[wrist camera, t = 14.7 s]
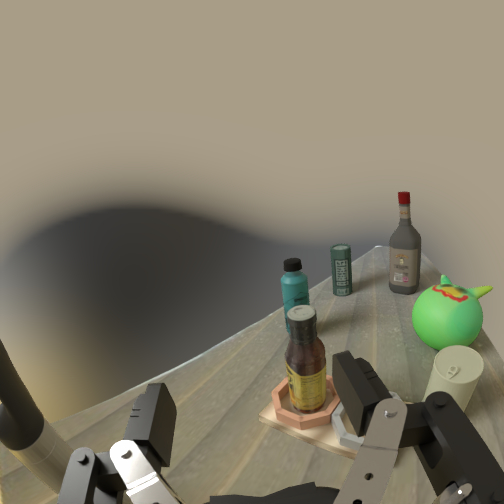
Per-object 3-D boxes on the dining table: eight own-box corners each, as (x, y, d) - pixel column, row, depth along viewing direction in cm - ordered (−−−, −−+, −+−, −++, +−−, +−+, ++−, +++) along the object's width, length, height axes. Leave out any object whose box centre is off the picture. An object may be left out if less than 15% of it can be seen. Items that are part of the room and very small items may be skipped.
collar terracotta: (261, 412, 43) (259, 404, 42) (297, 374, 51) (296, 365, 50) (319, 437, 35) (319, 429, 35) (351, 391, 43) (351, 381, 43)
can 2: (409, 414, 36) (423, 365, 32) (435, 385, 40) (449, 336, 36) (447, 437, 28) (471, 389, 24) (471, 403, 32) (492, 353, 28)
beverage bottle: (281, 334, 69) (271, 261, 64) (300, 323, 73) (292, 253, 67) (298, 344, 64) (290, 267, 58) (317, 332, 67) (312, 257, 61)
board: (260, 420, 43) (258, 414, 43) (299, 379, 52) (298, 372, 52) (384, 468, 27) (387, 462, 27) (410, 409, 37) (413, 403, 36)
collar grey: (320, 438, 35) (320, 429, 34) (352, 391, 43) (353, 382, 43) (388, 459, 27) (391, 451, 27) (411, 405, 36) (414, 396, 35)
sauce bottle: (295, 390, 47) (284, 298, 41) (328, 391, 45) (325, 297, 39) (287, 415, 41) (273, 322, 35) (323, 418, 39) (321, 322, 33)
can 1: (351, 286, 87) (349, 243, 83) (352, 295, 82) (351, 249, 77) (332, 288, 89) (329, 244, 84) (333, 296, 83) (330, 250, 79)
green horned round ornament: (395, 340, 56) (401, 284, 52) (435, 313, 61) (441, 262, 57) (452, 376, 40) (469, 314, 35) (486, 338, 45) (500, 282, 40)
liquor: (413, 296, 72) (415, 195, 64) (387, 291, 79) (385, 194, 70) (420, 283, 78) (421, 190, 69) (395, 280, 84) (393, 190, 76)
